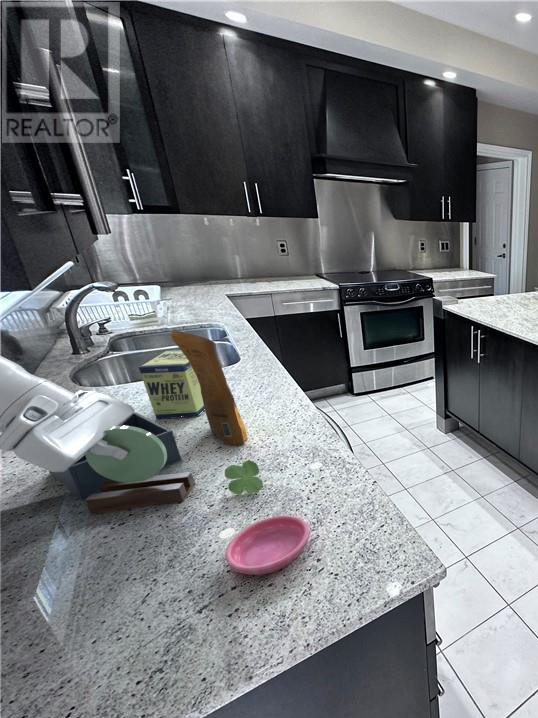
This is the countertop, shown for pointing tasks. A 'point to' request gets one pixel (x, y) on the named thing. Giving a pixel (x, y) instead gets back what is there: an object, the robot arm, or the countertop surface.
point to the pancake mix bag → (213, 387)
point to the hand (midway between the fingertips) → (130, 451)
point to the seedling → (244, 478)
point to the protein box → (172, 385)
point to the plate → (130, 455)
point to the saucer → (267, 545)
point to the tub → (88, 480)
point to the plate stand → (141, 493)
